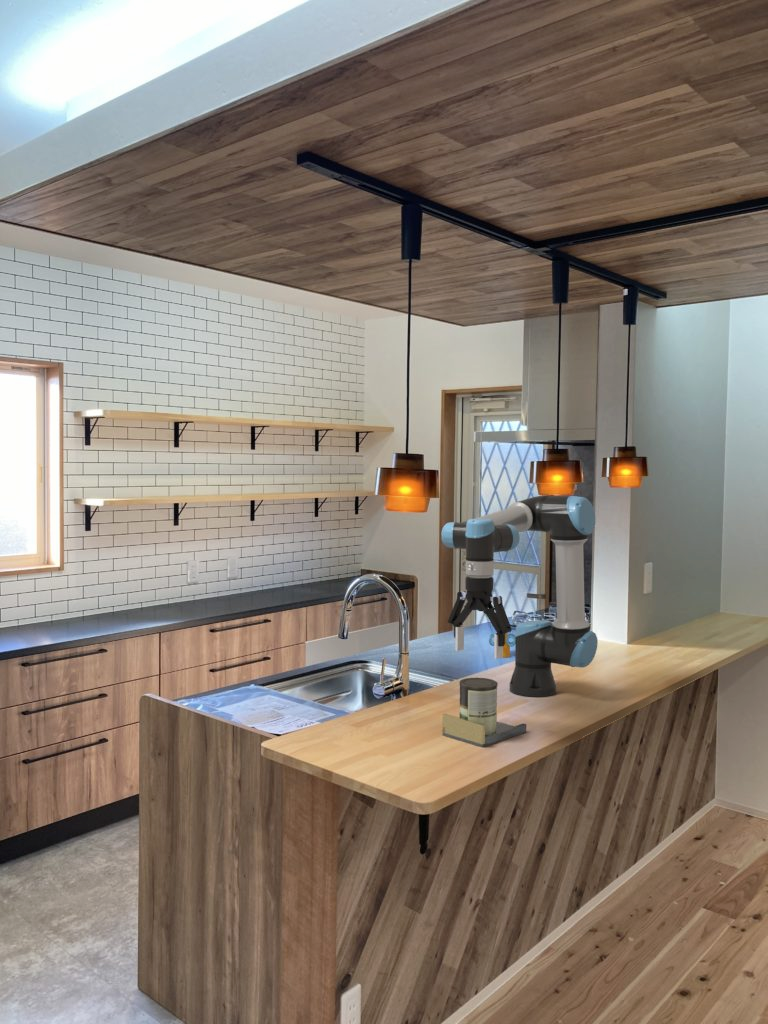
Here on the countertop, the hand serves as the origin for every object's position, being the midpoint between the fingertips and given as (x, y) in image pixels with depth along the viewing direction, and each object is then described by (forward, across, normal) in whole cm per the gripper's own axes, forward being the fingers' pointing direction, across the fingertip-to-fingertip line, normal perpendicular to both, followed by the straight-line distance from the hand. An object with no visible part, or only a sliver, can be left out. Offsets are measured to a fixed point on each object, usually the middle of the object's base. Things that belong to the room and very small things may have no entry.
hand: (478, 654), depth 232 cm
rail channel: (+22, 0, +3) cm, 23 cm away
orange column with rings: (+23, -59, +86) cm, 106 cm away
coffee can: (+22, 0, 0) cm, 22 cm away
